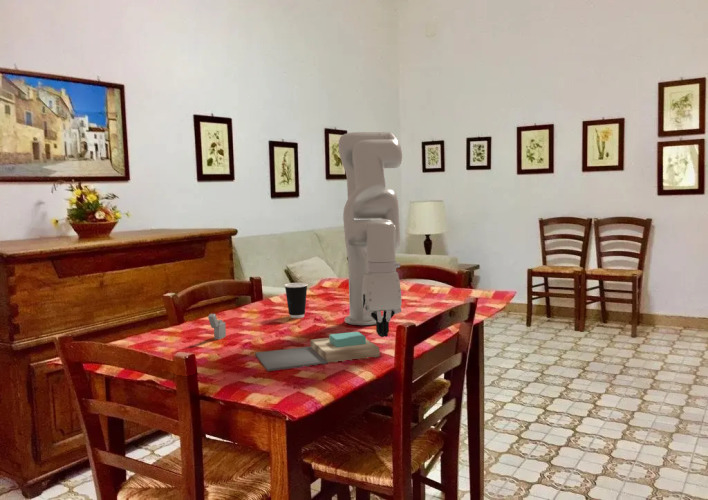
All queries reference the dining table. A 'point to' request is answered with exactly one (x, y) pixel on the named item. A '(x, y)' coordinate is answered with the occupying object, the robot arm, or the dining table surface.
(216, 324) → the lighter
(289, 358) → the rubber mat
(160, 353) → the dining table surface
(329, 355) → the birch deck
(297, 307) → the dixie cup
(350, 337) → the teal tile
